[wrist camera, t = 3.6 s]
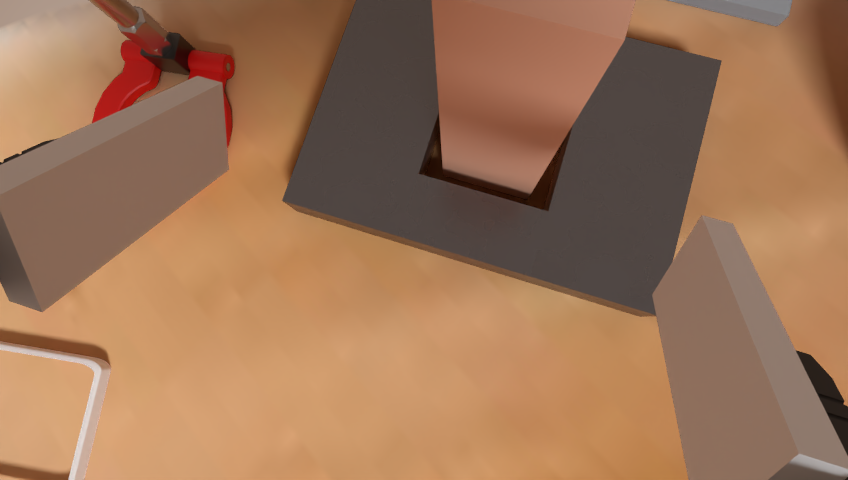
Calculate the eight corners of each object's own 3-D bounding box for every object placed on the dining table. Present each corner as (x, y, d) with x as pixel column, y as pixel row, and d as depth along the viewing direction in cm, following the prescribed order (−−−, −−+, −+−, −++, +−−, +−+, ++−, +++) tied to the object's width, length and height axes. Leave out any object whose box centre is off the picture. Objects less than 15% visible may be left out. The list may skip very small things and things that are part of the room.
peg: (550, 119, 28) (671, -130, 13) (527, 199, 28) (624, 39, 12) (468, 97, 29) (486, -169, 13) (443, 175, 28) (431, -9, 13)
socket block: (698, 83, 28) (721, 60, 26) (639, 316, 26) (659, 316, 24) (373, 0, 30) (366, -28, 28) (297, 211, 28) (282, 200, 26)
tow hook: (218, 208, 29) (252, 63, 30) (30, 139, 16) (99, -110, 17) (89, 185, 30) (126, 44, 31) (-186, 102, 17) (-108, -134, 18)
